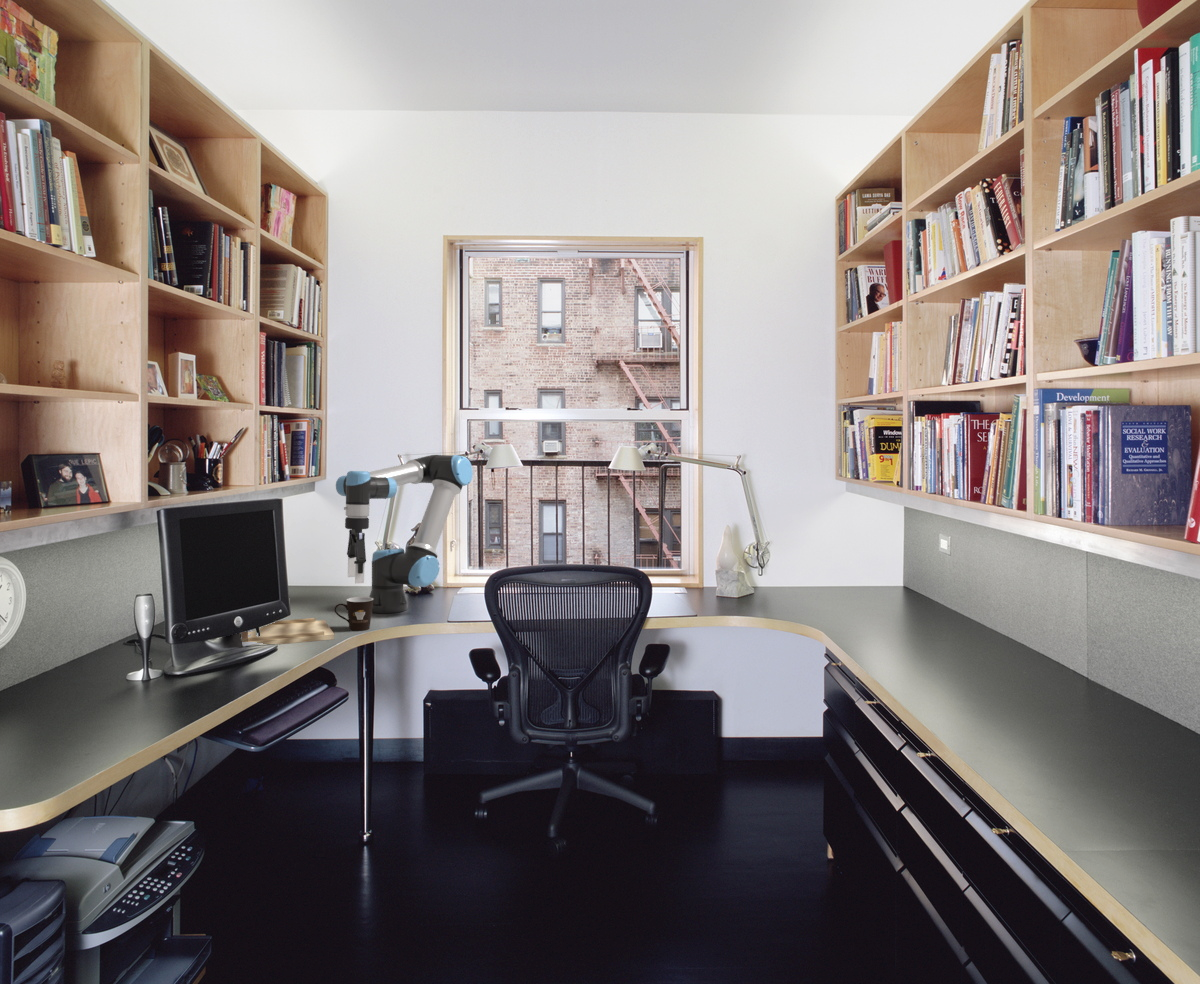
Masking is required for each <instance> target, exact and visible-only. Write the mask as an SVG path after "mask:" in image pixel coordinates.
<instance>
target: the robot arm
mask: <svg viewBox="0 0 1200 984" xmlns="http://www.w3.org/2000/svg"><path fill="white" fill-rule="evenodd" d="M473 472H474V470H473V466H472V462H471V461H470V460H469V458H467V457H465V456H463V455H458V454H453V455H450V454H449V455H448V454H431V455H426V456H422V457H418V458H414V459H411V460H410V459H409V460H408V461H407V462H406V463H405V464H399V465H396V466H391V467H387V468H381V469H378V470H377V469H376V470H372V471H366V470H365V471H364V470H349V471H348V472H347V473H346V475H342V476H340V477H339V476H338V478H337V479H336V482H335V490H336V493H338V495H340V496H342V497H345V506H344V507H343V510H344V511H345V516H346V517H345V519H344V520H345V521H344V522H345V523H344V527H345V529H347V530H348V532H349V535H348V542H347V544H348V545H347V550H346V551H347V552H346V555H347V578H354V584H364V583H365V564H366V562H367V557H366V555H367V554H366V542H365V541H366V540H365V538H366V537H365V532H363V530H367V529H369V528H370V518H369V516H370V499H371V500H372V499H373V500H376V499H377V500H379V499H380V500H381V499H384V500H386V499H391V498H394V497H395V496H396V494H397V492H398V487H399V486H403V485H406V484H410V483H411V484H412V485H417V484H431V485H433V489H432V492H431V494H430V498H429V501H428V503H427V506H426V508H425V511H424V513H423V517H422V519H421V522H420V525H419V528H418V531H417V532H416V535H415V538H414V540H413V543H411V544H408V545H407V547H406V550H405V549H404V548H391V549H381V550H376V551H374V552H373V553H372V557H371V558H372V559H371V590H370V594H369V596H368V597H370V598H373V599H374V600H373V607H372V613H377V614H390V613H391V614H392V613H393V614H394V613H400V612H405V611H407V610H408V608H409V606H408V604H409V602H408V600H407V596H406V594H405V590H404V586H411V587H417V588H420V587H421V588H422V587H423V588H424V587H428V586H430V585H432V584H433V583H434V582H435V581H436V579H437V577H438V575H439V573H440V561H439V560H438V557H439V555H438V554H437V553H438V552H437V551H436V550H437V547H438V544H439V542H440V539H441V536H442V533H443V530H444V527H445V525H446V522H447V520H448V516H449V513H450V511H451V508H452V505H453V503H454V499H455V497H456V495H458V494H461V492H462V489H463V487H464V486H468V485H469V484H470V483H471V482H472V480H473V475H474V473H473Z"/></svg>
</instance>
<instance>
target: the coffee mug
mask: <svg viewBox="0 0 1200 984" xmlns="http://www.w3.org/2000/svg"><path fill="white" fill-rule="evenodd" d="M373 600H374V599H373V598H370V597H369V596H356V597H349V598H346V604H345V603H338V604H336V605H335V606H334V609H333V610H334V613H335V614H336V615H337V616H338V617H339V618H341V619H343V620H345V621H346V622H347V623H348V628H349V631H352V632H364V631H368V630H370V627H371V621H372V615H373V614H372V613H373V612H372V607H373ZM339 606H343V607H344V608H345V610H346V611H347V618H346V617H344V616H342V615H341V614H339V613H338V611H337V608H338V607H339Z"/></svg>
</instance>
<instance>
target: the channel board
mask: <svg viewBox="0 0 1200 984" xmlns="http://www.w3.org/2000/svg"><path fill="white" fill-rule="evenodd" d="M276 621H277V622H275V623H272V624H269V625H267V626H263V627H261V628H260V629H259V630H260V636H259V637H257V636H256V631H252V632H248V631H246V632H242V633H241V637H242V642H257V643H263V644H275V645H283V644H284V645H285V644H295V643H305V642H317V641H318V642H319V641H327V640H335V633H334V632H333V630H332V629H331V627H330V626H329V625H328V624H327V621H326V620H325V619H320V620H316V617H313V618H312V617H311V618H298V619H287V620H286V619H285V620H284V619H283V620H281V619H280V620H276ZM250 634H251V636H250V637H248V635H250Z"/></svg>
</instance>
